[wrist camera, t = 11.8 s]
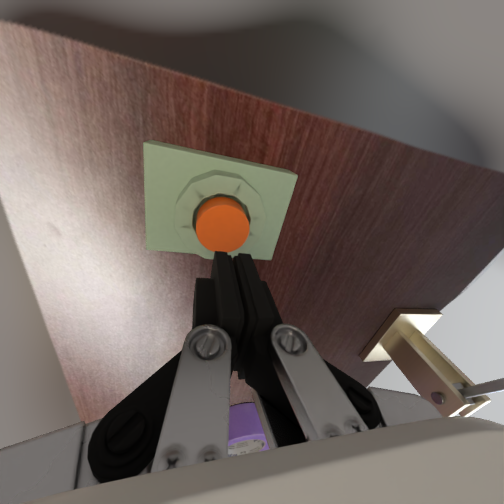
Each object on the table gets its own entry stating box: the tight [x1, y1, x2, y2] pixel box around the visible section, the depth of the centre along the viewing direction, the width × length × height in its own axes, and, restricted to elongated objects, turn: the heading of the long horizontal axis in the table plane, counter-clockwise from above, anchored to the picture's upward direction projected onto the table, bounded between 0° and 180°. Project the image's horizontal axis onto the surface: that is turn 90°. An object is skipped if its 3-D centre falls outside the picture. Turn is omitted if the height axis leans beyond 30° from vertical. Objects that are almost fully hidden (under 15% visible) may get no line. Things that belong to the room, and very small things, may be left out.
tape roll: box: [228, 403, 269, 457], centre depth 40 cm, size 12×12×5 cm
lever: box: [452, 378, 504, 405], centre depth 25 cm, size 12×5×2 cm, turn 167°
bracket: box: [359, 308, 491, 417], centre depth 32 cm, size 12×9×12 cm
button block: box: [143, 140, 298, 260], centre depth 17 cm, size 11×8×4 cm
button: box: [196, 197, 250, 253], centre depth 15 cm, size 4×4×2 cm
